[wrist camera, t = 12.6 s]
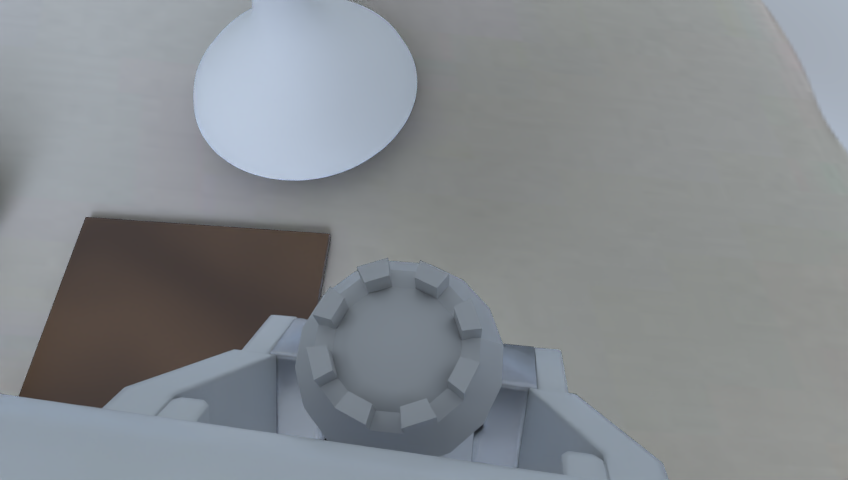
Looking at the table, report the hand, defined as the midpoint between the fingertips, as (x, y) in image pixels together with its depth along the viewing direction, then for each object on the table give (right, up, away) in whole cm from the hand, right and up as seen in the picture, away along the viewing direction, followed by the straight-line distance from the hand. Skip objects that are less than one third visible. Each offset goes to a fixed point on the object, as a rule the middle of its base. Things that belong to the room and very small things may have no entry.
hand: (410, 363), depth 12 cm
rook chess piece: (0, -2, +4) cm, 5 cm away
